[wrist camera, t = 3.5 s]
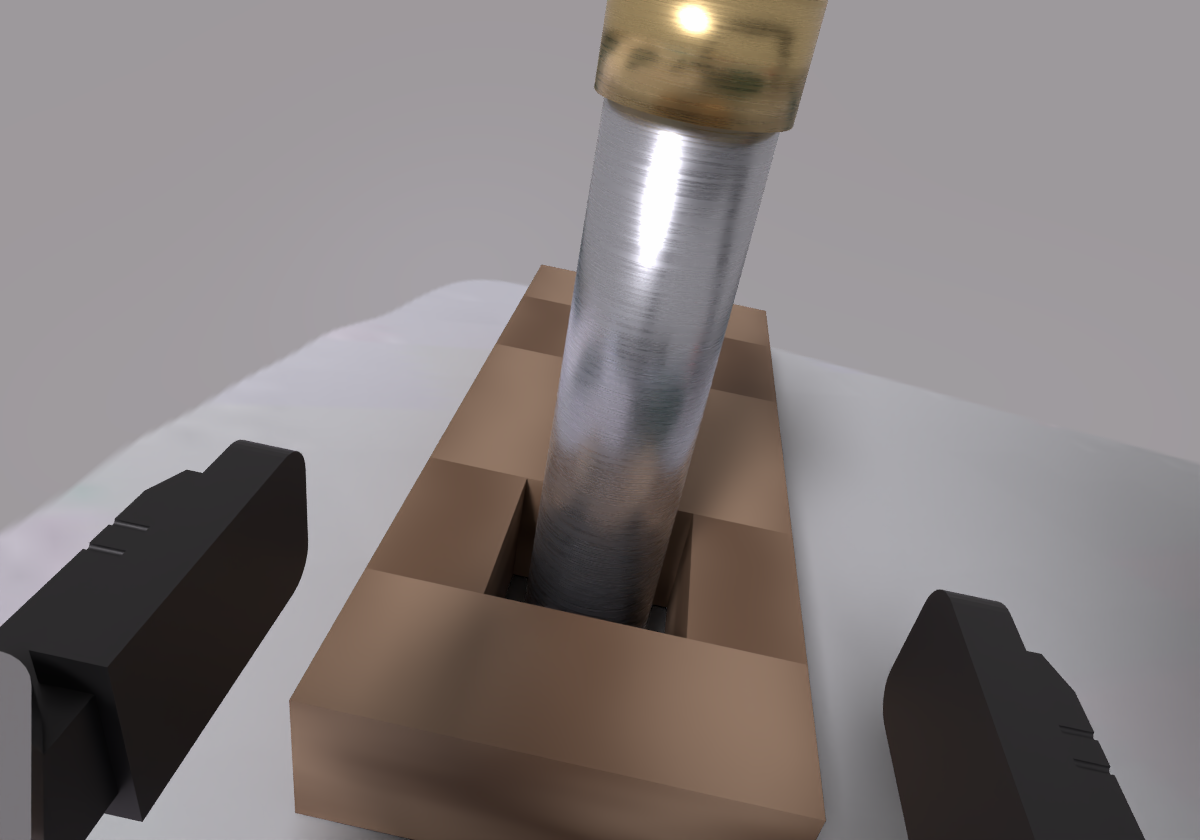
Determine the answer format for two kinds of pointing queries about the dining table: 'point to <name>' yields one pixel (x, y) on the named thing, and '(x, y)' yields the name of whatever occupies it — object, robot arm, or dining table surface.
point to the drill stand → (570, 638)
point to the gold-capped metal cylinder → (658, 279)
